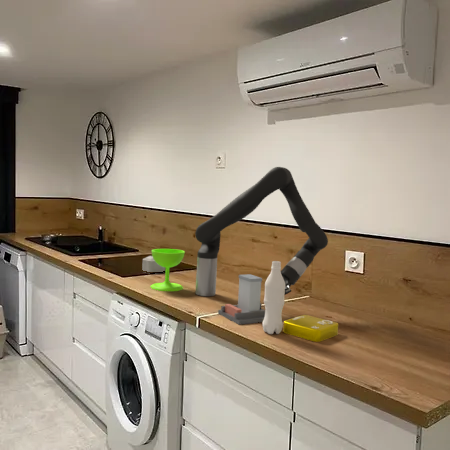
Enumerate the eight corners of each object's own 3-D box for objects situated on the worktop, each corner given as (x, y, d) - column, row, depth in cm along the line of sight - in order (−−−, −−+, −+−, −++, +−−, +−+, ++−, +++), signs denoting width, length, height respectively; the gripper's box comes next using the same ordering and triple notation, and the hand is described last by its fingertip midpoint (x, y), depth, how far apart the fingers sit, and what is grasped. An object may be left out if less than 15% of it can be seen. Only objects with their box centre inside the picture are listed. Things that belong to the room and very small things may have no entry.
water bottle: (266, 335, 163) (270, 263, 161) (259, 329, 169) (263, 259, 168) (285, 335, 164) (290, 263, 163) (277, 328, 171) (282, 260, 169)
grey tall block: (236, 310, 188) (238, 274, 187) (248, 309, 190) (250, 274, 189) (248, 315, 180) (250, 278, 179) (260, 314, 183) (262, 278, 182)
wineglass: (167, 293, 220) (168, 254, 218) (143, 287, 229) (144, 250, 228) (190, 288, 232) (191, 251, 231) (166, 283, 242) (167, 247, 241)
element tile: (304, 325, 179) (304, 312, 179) (339, 335, 169) (340, 321, 169) (280, 332, 168) (281, 319, 168) (317, 343, 158) (318, 329, 158)
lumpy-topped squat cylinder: (139, 271, 272) (140, 256, 271) (157, 269, 281) (158, 254, 280) (151, 274, 265) (151, 258, 264) (169, 271, 274) (169, 257, 273)
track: (218, 313, 188) (218, 302, 188) (256, 309, 197) (257, 299, 197) (238, 324, 174) (239, 312, 174) (279, 320, 183) (279, 308, 183)
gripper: (278, 262, 198) (252, 293, 193) (298, 267, 187) (270, 300, 182) (288, 274, 201) (262, 305, 196) (308, 280, 190) (281, 312, 185)
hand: (266, 302), depth 189 cm, fingers closed
